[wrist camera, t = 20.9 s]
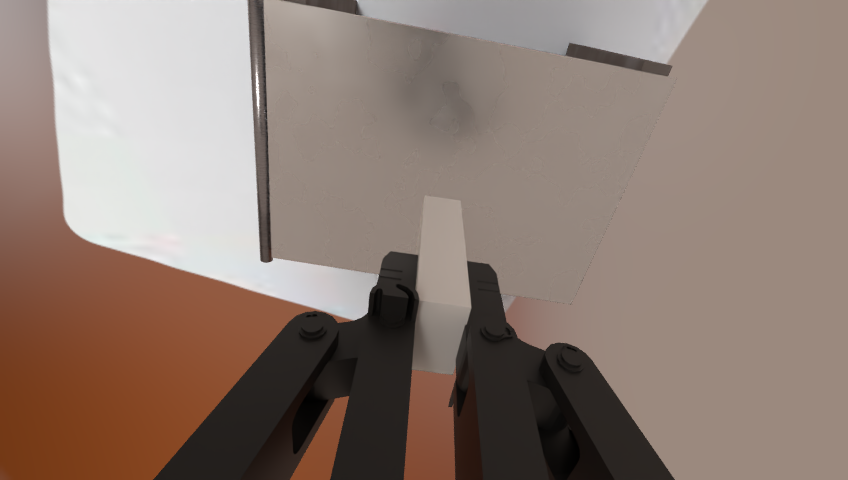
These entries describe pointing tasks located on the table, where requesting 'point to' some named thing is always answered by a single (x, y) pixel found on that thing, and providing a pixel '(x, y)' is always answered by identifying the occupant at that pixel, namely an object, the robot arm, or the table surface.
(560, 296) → the lid
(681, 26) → the table surface
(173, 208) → the table surface
